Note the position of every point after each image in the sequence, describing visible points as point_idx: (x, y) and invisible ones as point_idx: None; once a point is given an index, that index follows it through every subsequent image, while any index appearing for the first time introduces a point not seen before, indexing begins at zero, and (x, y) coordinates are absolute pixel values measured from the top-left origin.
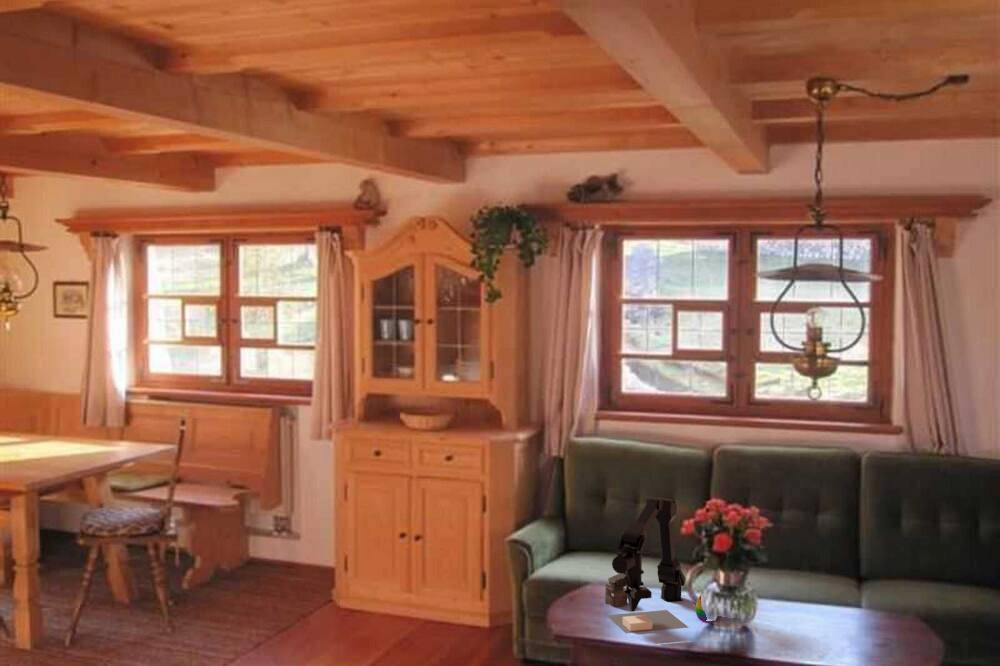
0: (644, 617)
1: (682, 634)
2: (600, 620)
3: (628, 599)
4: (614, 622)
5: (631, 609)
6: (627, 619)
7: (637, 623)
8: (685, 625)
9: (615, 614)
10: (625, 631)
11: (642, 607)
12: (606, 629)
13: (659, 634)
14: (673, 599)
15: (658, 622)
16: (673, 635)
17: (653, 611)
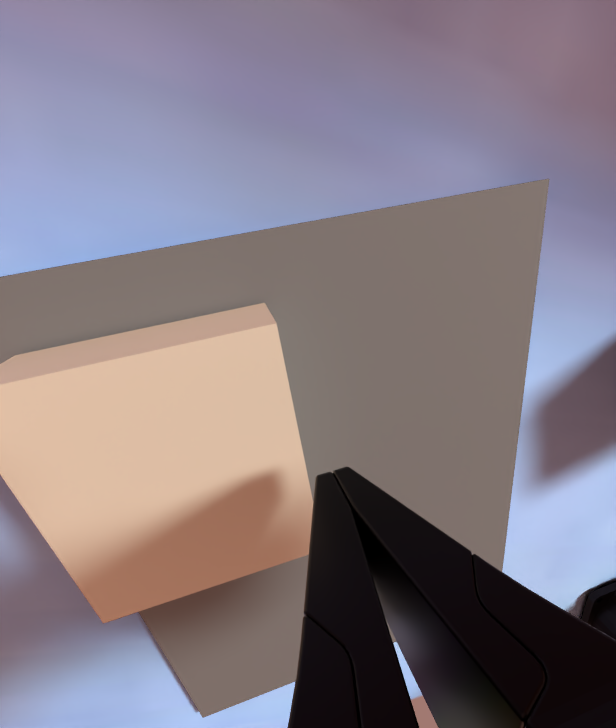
0: (245, 553)
1: (76, 699)
2: (452, 62)
3: (475, 601)
4: (333, 220)
5: (314, 494)
6: (163, 375)
7: (16, 486)
8: (234, 701)
9: (534, 280)
10: (12, 296)
11: (589, 483)
12: (120, 40)
13: (41, 584)
14: (599, 625)
15: (300, 576)
16: (38, 662)
17: (498, 544)
